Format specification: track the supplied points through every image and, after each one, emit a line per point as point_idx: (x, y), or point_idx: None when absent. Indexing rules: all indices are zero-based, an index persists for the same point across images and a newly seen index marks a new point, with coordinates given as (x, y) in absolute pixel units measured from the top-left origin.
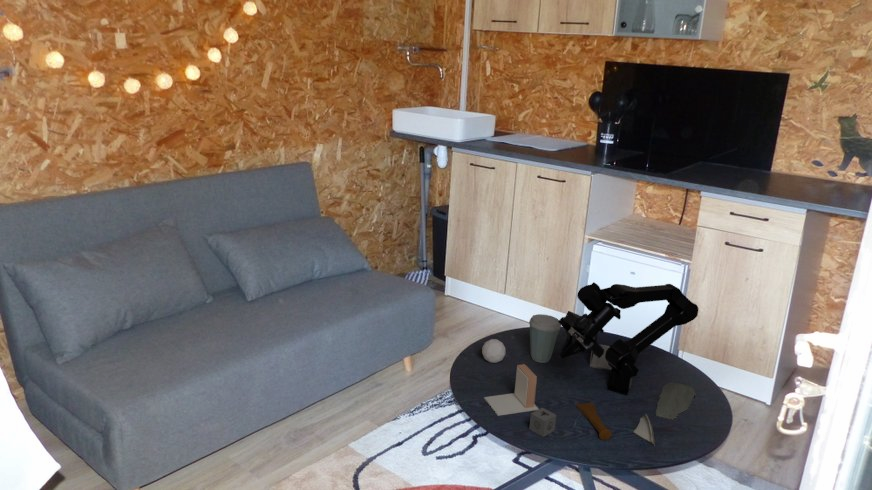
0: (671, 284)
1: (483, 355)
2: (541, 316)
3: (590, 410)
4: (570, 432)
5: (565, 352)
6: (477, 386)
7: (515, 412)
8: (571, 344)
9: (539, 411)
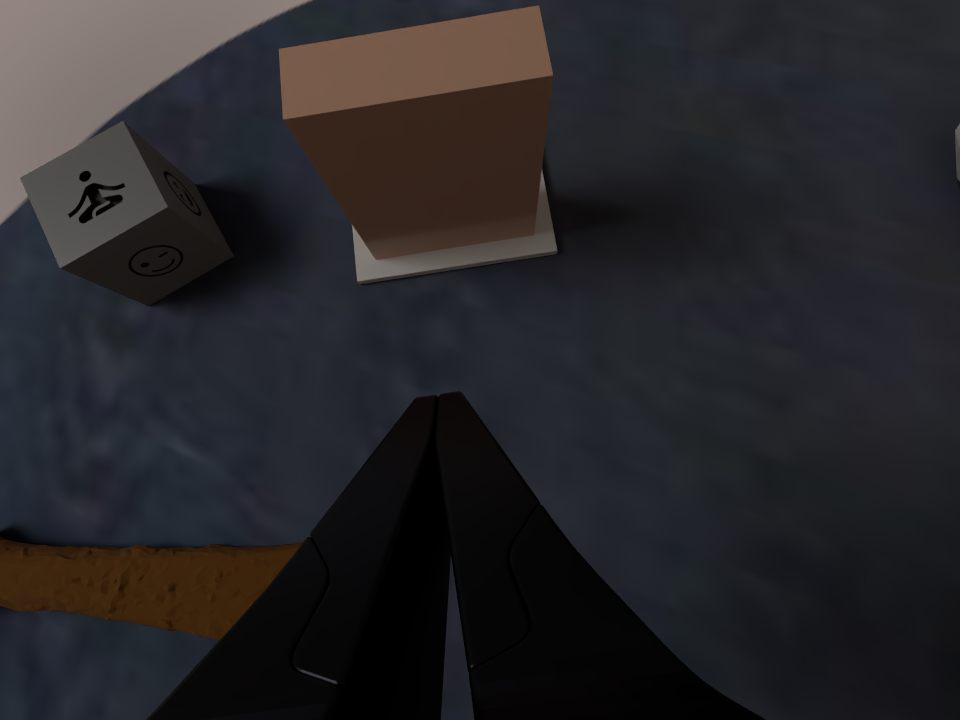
0: None
1: None
2: None
3: (250, 603)
4: (108, 385)
5: (366, 469)
6: (649, 31)
7: None
8: (261, 672)
9: (128, 176)
